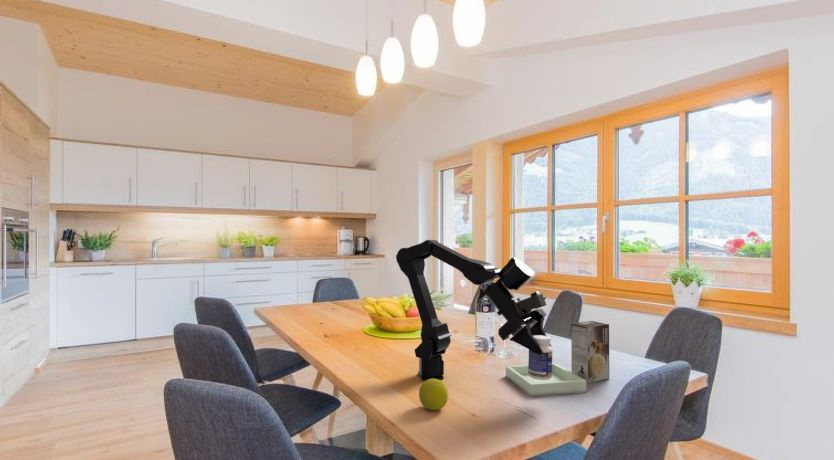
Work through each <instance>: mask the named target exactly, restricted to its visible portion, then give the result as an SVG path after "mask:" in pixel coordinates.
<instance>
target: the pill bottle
mask: <svg viewBox="0 0 834 460" xmlns="http://www.w3.org/2000/svg"><path fill="white" fill-rule="evenodd" d="M533 337H534V338H535V340H536V342H537V343H538V345H539V346H540V348H541V349H542V351H543V353H542V354H541V355H539V354H537V353H535V352H533V351H531V350H529V349H528V362H527V363H528V364H527V365H528V375H529V376H530V377H531V378H533V379H537V380H549V379H551V378H552V363H553V348H552V346H551V347H550V346H549V344H550V345H551V337H550V336H547V335H546V336H542V335H533Z"/></svg>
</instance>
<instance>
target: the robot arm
mask: <svg viewBox="0 0 834 460" xmlns="http://www.w3.org/2000/svg"><path fill="white" fill-rule="evenodd" d="M431 256H432V257H433V258H435V259H438V260H440V261H441V262H443V263H445V264H447V265H449V266H451V267H452V268H454V269H455V270H458V271H459V272H461V274H462V276H463V277H464V278H465V279H466V280H468V281H469V282H470V283H472V284H473V285H476V286H481V285H487V286H486V287H485V288H484V287H483V288H479V295H478V299H480V300H483V299H487V298H488V299H489V300H490V302H491V303H492V305H494V307H495V308H496V309H497V311H496V314H497V316H502V317H503V319H505V320H506V322H505V323H504V324H503V325H502V326H500V327H499V328H498V333H497V334H498V336H499V337H500V339H501V340H502V341H506V340H508V339H509V338H510V335H512V337H511V338H510V339H509V341H510V342H514V343H516V344H517V345H520V346H522V347H524V348H525V349H528V351H529V350H531V351H533V352H535V353H537V354H539V355H541V354H542V353H543V351H542V349H541V348H540V346H539V345H538V343H537V342H536V340H535V338H534V337H533V335H542V336H547V333H546V332H545V330H544V321H545V318H546V316H548V315H547V313H546V312H545V311H544V309H541V308H543V307H545V306H547V303H546V298H547V297H546V296H545V295H544V294H543V293H540V291H537V290H536V291H535V292H531V293H530V297H527V298H524V299H523V298H522V297H521V296H515V294H514V293H513V292H512V290H514V291H518V290H519V289H521V288H522V287H523V286H524V285H525V284H526V282H528V281H529V280H530V279H531V278H532V277H533V276H534V274H533V271H532V269H531V268H530V267H529V266H528V265H527V264H526V263H524V262H522V261H521V260H519V259H518V257H511V258H510V259H509V260H508V262H507V263H506V264H505V265H504V266H503V268H497V267H496V266H495V265H493V264H492V263H490V262H487V261H484V260H479V259H474V258H470V257H468V256H466V255H464V254H462V253H461V252H458V251H456V250H454V249H452V248H451V247H448V246H446V245H444V244H442V243H440V242H439V241H438V240H436V239H426V240H424V241H422V242H420V243H418V244H417V243H416V244H414V245H411V246H409V247H401V248H400V249H398V251H397V254H396V255H395V259H396V263H397V265H398V268H399V269H400V270H401V272H402V273H403V274H404V275H405V276H406V277H407V280H408V282H409V285H410V289H411V293H412V296H413V298H414V301H415V305H416V308H417V312H418V314H419V319H420V321H421V330H420V339H421V343H420V344H419V345H418V346H416V348H415V349H414V354H415V357H416V358H418V361H419V362H418V365H419V368H418V371H417V375H418V376H419V378H420V379H421V380H422V381H426V380H428V379H438V380H444V375H445V373H444V372H445V361H444V360H443V355H444V354H446V351H447V349H448V348H449V347H450V345H451V343H452V342H451V337H452V334H451V333H450V330H449V325H448V323H447V322H443V323H442V322H441V320H439V318H438V315H437V312H436V308H435V306H434V303H433V299H432V297H431V293H430V290H429V287H428V284H427V279H426V277H425V272H424V271H425V266H426V261H425V260H426V259H428V258H430V257H431ZM495 279H497V280H496V281H495ZM494 281H495V282H494ZM549 346H550V347H551V348H552V344H551V343H550V344H549Z"/></svg>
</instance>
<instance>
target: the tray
mask: <svg viewBox="0 0 834 460" xmlns="http://www.w3.org/2000/svg"><path fill="white" fill-rule="evenodd" d="M505 377H506V378H508V380H509V381H511V382H512V383H513V384H515V385H516V386H517V387H518V388H520V389H521V390H523V392H525V393H527V394H528V395H529V396H530V397H540V396H551V395H565V394H577V393H578V394H579V393H587V383H586V380H584V379H582V378H580V377H579V376H577V375H575V374H573V373H572V371H571V370H568V369H566V368H564V367H562V366H560V365H559V364H557V363H553V362H552V378H551V379H549V380H537V379H533V378H531V377H530V376H529V375H528V364H523V365H522V364H521V365H519V364H518V365H506V366H505Z"/></svg>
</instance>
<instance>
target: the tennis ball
mask: <svg viewBox="0 0 834 460" xmlns="http://www.w3.org/2000/svg"><path fill="white" fill-rule="evenodd" d="M418 397H419V401H420V403H421V405H422V407H424V408H425V409H427V410H430V411H438V410H440V409H443V408H444V407H445V406H446V404H447V402H448V400H449V390H448V387H447V385H446V384H445V383H444V382H443V381H442V380H441V379H428V380H424V381H423V382H422V384H421V386H420V388H419V391H418Z"/></svg>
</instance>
